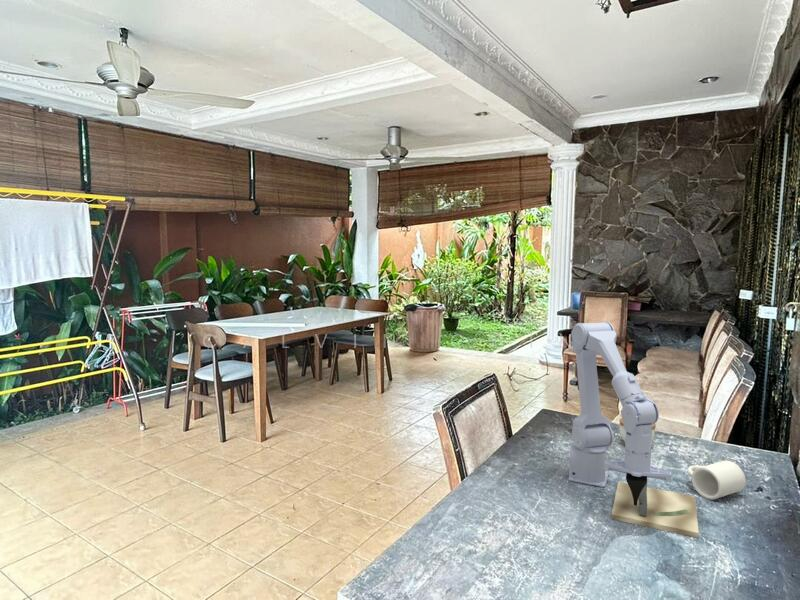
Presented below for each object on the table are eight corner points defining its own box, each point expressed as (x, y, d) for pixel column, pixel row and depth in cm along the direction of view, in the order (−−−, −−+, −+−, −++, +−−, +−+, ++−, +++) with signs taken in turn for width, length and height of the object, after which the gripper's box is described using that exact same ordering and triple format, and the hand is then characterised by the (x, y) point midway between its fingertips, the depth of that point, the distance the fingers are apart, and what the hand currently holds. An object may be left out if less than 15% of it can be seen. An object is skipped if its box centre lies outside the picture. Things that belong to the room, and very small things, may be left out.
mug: (745, 496, 133) (747, 467, 132) (720, 505, 129) (722, 474, 128) (701, 478, 144) (702, 450, 143) (676, 485, 139) (678, 457, 139)
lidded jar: (658, 444, 168) (660, 416, 167) (648, 454, 160) (650, 425, 159) (624, 436, 175) (625, 409, 174) (613, 445, 167) (614, 417, 166)
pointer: (637, 515, 121) (638, 501, 121) (637, 486, 136) (638, 473, 135) (648, 517, 120) (648, 503, 120) (646, 487, 135) (647, 475, 135)
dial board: (611, 518, 122) (611, 513, 122) (617, 485, 139) (618, 481, 139) (698, 538, 114) (698, 532, 114) (694, 500, 131) (694, 495, 131)
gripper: (603, 450, 123) (602, 504, 125) (672, 461, 117) (669, 518, 118) (607, 440, 130) (605, 491, 131) (671, 450, 123) (669, 504, 124)
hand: (635, 503), depth 125 cm, fingers closed
